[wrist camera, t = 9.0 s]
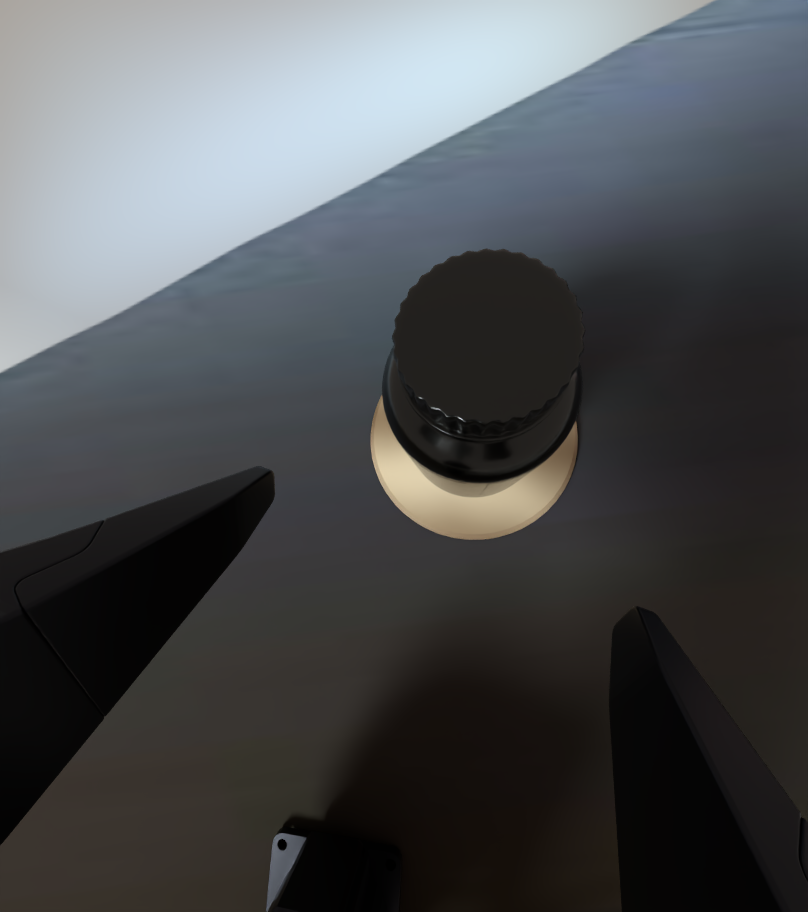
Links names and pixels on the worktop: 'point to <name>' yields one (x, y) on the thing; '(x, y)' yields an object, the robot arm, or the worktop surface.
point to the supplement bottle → (484, 370)
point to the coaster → (467, 513)
